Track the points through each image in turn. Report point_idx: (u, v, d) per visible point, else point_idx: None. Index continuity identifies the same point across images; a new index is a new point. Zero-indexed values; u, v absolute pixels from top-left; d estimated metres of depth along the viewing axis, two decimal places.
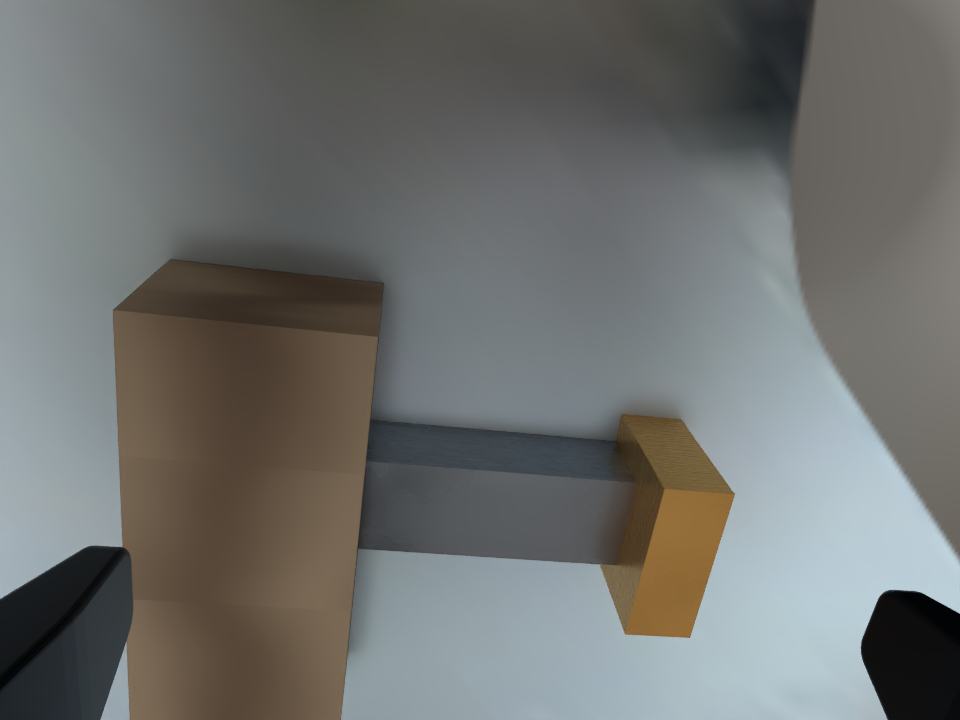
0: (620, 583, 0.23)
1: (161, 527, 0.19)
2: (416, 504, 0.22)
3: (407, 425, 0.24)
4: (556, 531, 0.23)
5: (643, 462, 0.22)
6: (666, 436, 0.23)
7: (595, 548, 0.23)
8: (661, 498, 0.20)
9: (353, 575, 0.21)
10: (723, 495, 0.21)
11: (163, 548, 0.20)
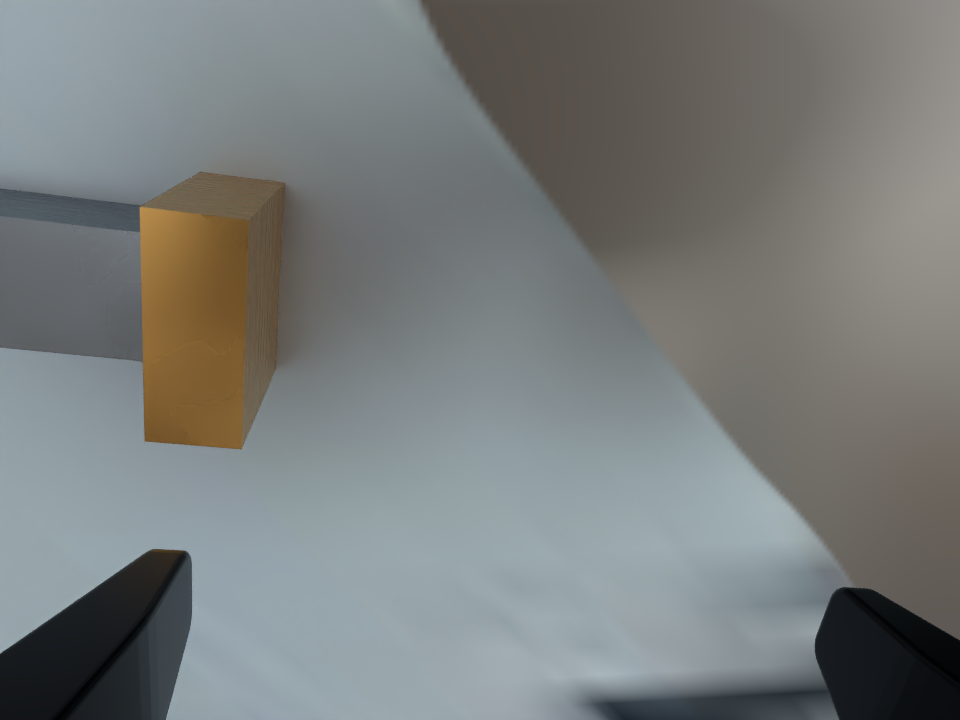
0: None
1: None
2: None
3: None
4: (71, 308, 0.17)
5: None
6: (234, 186, 0.17)
7: (134, 336, 0.17)
8: (140, 222, 0.14)
9: None
10: (235, 223, 0.15)
11: None
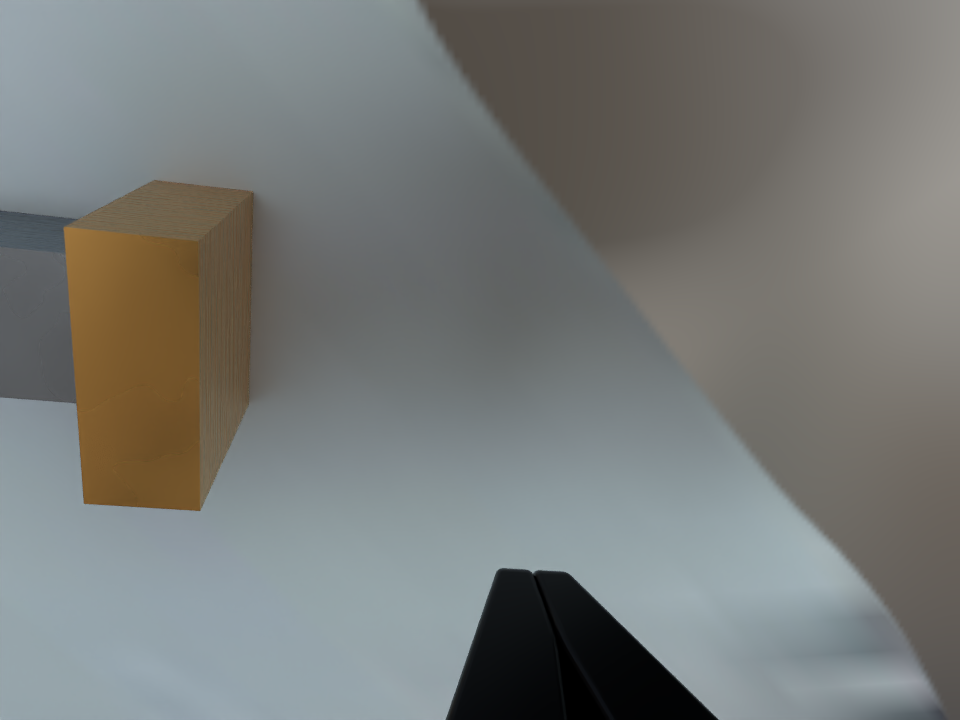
0: None
1: None
2: None
3: None
4: None
5: None
6: (190, 197, 0.15)
7: (75, 376, 0.15)
8: (65, 246, 0.12)
9: None
10: (182, 245, 0.12)
11: None
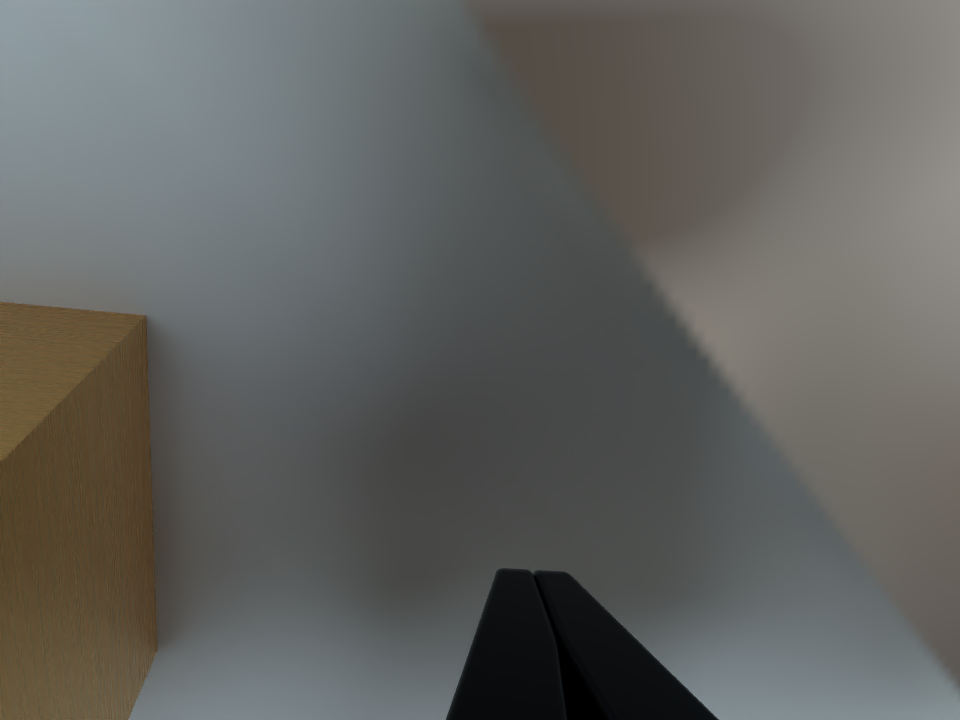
0: None
1: None
2: None
3: None
4: None
5: None
6: (5, 350, 0.07)
7: None
8: None
9: None
10: None
11: None
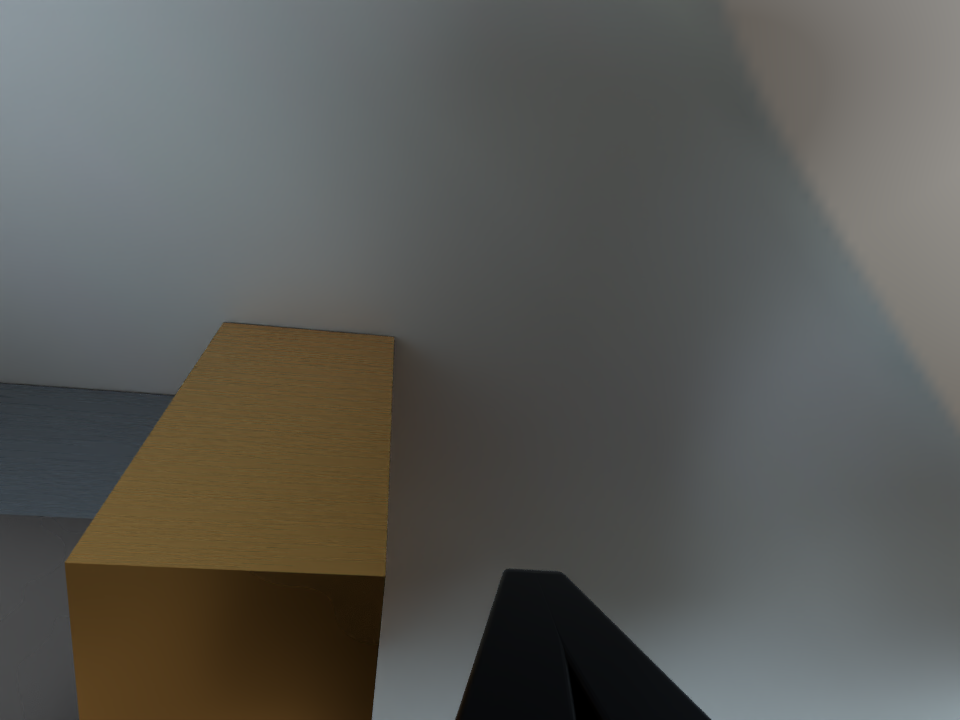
0: None
1: None
2: None
3: None
4: None
5: None
6: (302, 376, 0.08)
7: None
8: (70, 600, 0.05)
9: None
10: (345, 580, 0.05)
11: None
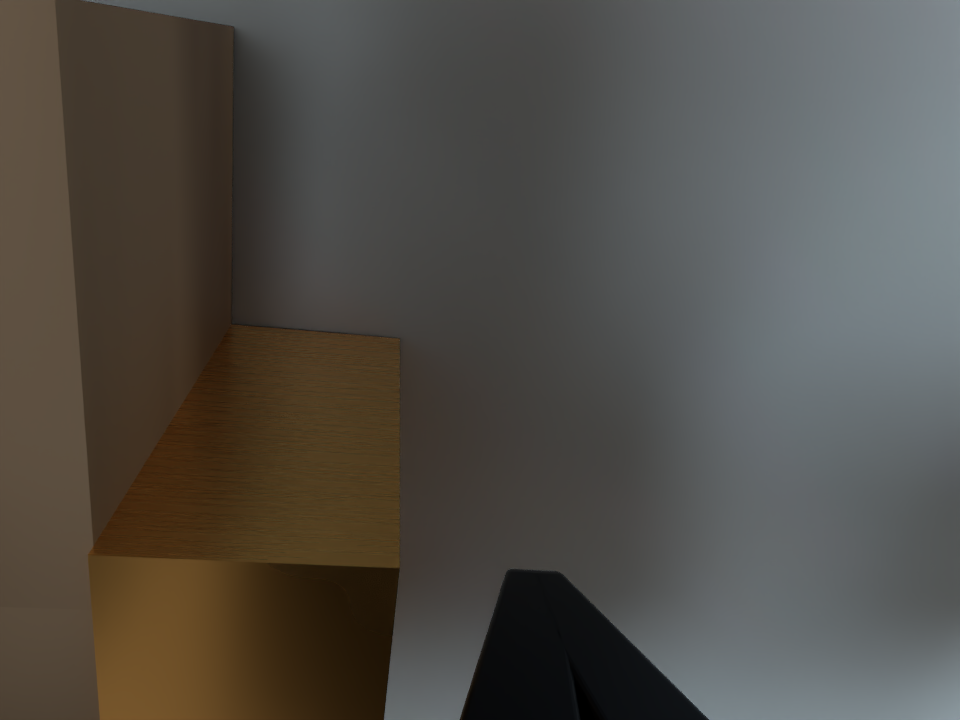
0: None
1: None
2: None
3: None
4: None
5: None
6: (311, 377, 0.08)
7: None
8: (92, 591, 0.05)
9: None
10: (359, 572, 0.05)
11: None
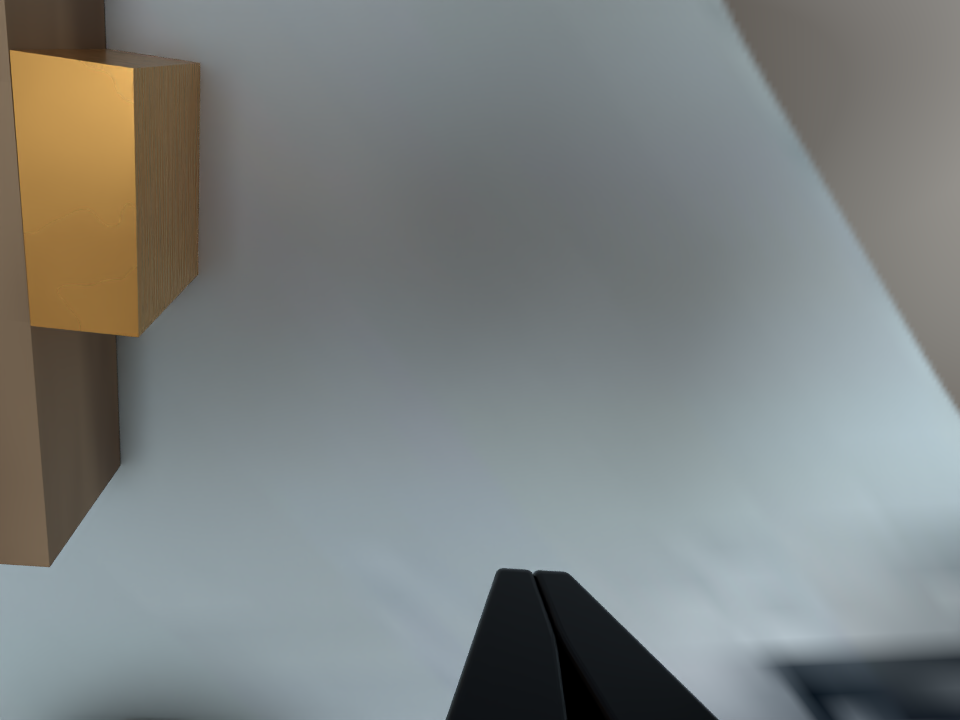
0: None
1: None
2: None
3: None
4: None
5: None
6: (138, 57, 0.16)
7: None
8: (11, 69, 0.13)
9: (24, 262, 0.14)
10: (118, 72, 0.13)
11: None
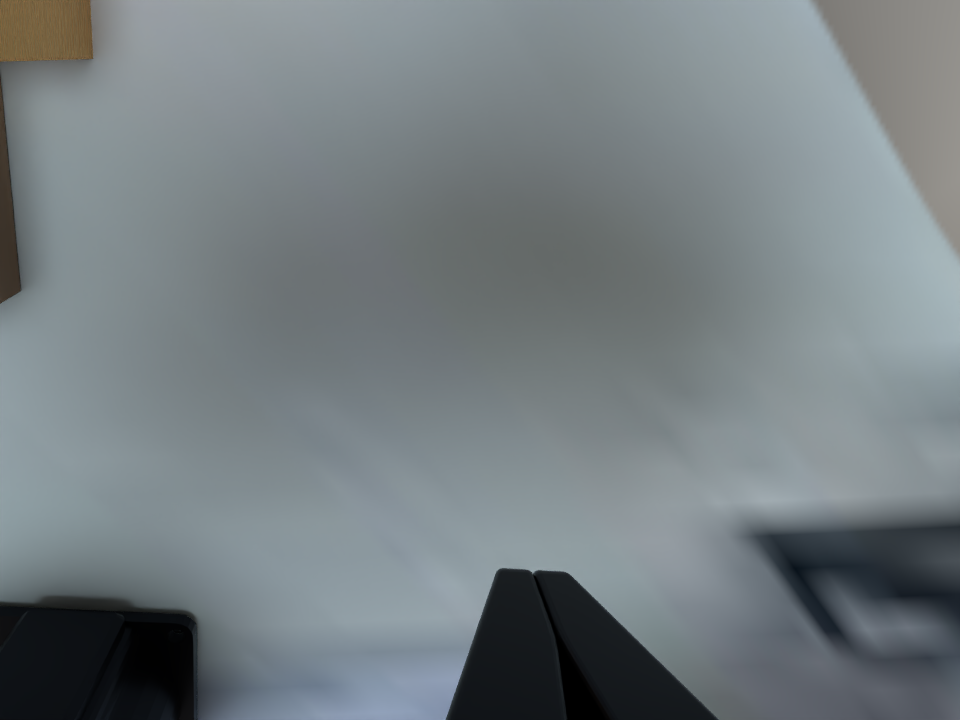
0: None
1: None
2: None
3: None
4: None
5: None
6: None
7: None
8: None
9: None
10: None
11: None
